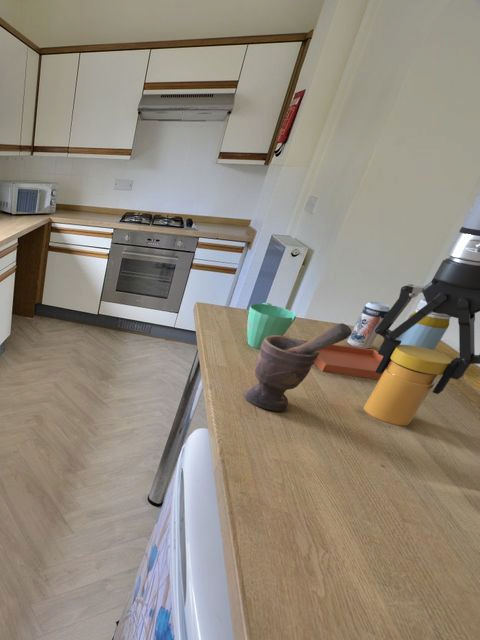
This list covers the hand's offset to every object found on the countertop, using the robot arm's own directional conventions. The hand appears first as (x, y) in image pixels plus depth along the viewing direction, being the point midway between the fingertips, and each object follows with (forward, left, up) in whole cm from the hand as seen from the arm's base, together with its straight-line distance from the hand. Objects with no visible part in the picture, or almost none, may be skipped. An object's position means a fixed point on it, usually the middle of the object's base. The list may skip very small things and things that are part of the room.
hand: (407, 380), depth 77 cm
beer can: (-14, -38, -8) cm, 41 cm away
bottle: (-23, -34, -8) cm, 42 cm away
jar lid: (0, 0, +5) cm, 5 cm away
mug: (+13, -30, -8) cm, 34 cm away
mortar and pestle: (+21, +4, -8) cm, 23 cm away
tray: (-5, -24, -8) cm, 26 cm away
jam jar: (0, 0, -8) cm, 8 cm away
